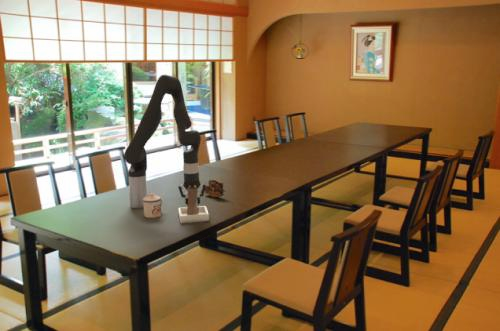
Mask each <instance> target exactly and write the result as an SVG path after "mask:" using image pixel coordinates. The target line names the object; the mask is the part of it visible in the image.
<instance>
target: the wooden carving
mask: <svg viewBox="0 0 500 331" xmlns="http://www.w3.org/2000/svg"><path fill="white" fill-rule="evenodd" d="M224 192H225V193H226V192H227V190H226V189H224V182H222V181H221V180H219V179H209V180H208V185H206V187H205V191H204V195H209V196H210V197H211V198H221V197H224V196H225V194H224Z"/></svg>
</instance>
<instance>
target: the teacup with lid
mask: <svg viewBox="0 0 500 331" xmlns="http://www.w3.org/2000/svg"><path fill="white" fill-rule="evenodd" d="M143 204H144V208H143V215H144V217H145V218H148V219H149V218H150V219H152V218H153V219H154V218H158V217H161V215H162V205H163V200H162V197H160V196H159V195H156V194H155V193H154V192H150V193H149V195H148V194H147V197H144V198H143Z"/></svg>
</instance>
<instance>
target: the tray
mask: <svg viewBox="0 0 500 331" xmlns="http://www.w3.org/2000/svg"><path fill="white" fill-rule="evenodd" d="M197 206H198V207H199V213H198V214H194V215H187V207H188V206H185V207H184V206H183V207H178V211H177V212H178V217H179V222H180V224H184V223H197V222H198V223H199V222H200V223H201V222H209V221H210V214H209V212H208V211H209V210H208V208H207V206H206V205H197Z"/></svg>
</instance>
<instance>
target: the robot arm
mask: <svg viewBox="0 0 500 331" xmlns="http://www.w3.org/2000/svg"><path fill="white" fill-rule="evenodd" d="M151 94H152V95H151V97H150V100H149V101H148V104H147V107H146V108H145V111H144V113H143V115H142V116H141V119H140V122H139V124H138V126H137V128H136V130H135V133H134V136H133V138H132V139H131V141H130V143H129V144H128V146H127V147H126V149H125V152H124V161H125V162H126V163H127V164H129V165H130V168H129V169H128V171H127V172H128V173H127V174H128V186H129V192H128V193H129V203H130V206H129V207H130V209H144V204H143V198H144V197H147V196H148V185H147V170H148V160H147V159H148V158H147V157H148V156H147V151H146V148H145V146H146V144H147V143H148V142H149V140H150V139H151V138H152V136H153V135H154V134H155V132H156V131H157V129H158V127H159V125H160V124H161V121H162V117H163V112H162V102H163V99H164V97H165V95H166V94H167V95H170V96H171V97H172V99H173V102H174V107H173V117H174V120H175V123H176V126H177V132H178V134H177V135H178V142H179V144H180V145H181V146H183V147H189V146H190V148H189V149H187V150H184V151H183V153H182V155H183V157H182V158H183V165H182V166H183V170H182V171H183V184H180V185H179V184H178V185H177V187H178V190H179V194H180V197H181V198H184V199H185V200H184V202H185V205H187V206H186V207H188V194H189V188H190V187H196V188H198V190H197V203H196V206H200V203H201V197H203V196H204V195H205V187H206V186H207V185H206V183H201V181H200V166H199V149H200V145H201V140H202V137H201V133H200V132H199V130H189V129H190V128H191V127H192V120H191V118H190V116H189V113H188V110H187V107H186V103H185V97H184V93H183V88H182V83H181V81H180V79H179V78H178V77H176V76H173V75H168V74H161V75H160V76H159V77H158V78H157V81H156V84H155V86H154V87H153V91H152V93H151ZM199 188H201V190H200V192H199ZM183 189H185V193H184V192H183Z"/></svg>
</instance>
